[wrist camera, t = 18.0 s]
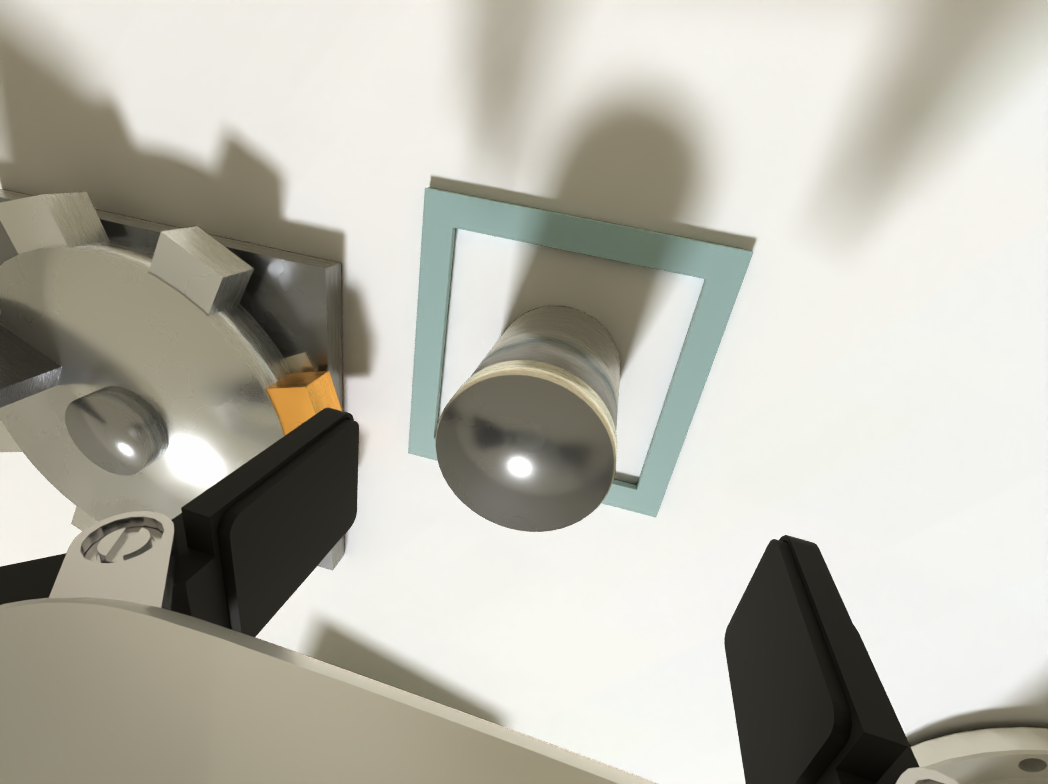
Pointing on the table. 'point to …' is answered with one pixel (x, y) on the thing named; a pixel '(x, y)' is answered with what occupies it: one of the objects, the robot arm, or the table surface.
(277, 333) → the sprocket base
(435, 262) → the seat bay
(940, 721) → the table surface
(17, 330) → the sprocket
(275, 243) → the table surface
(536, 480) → the silver metal cylinder
